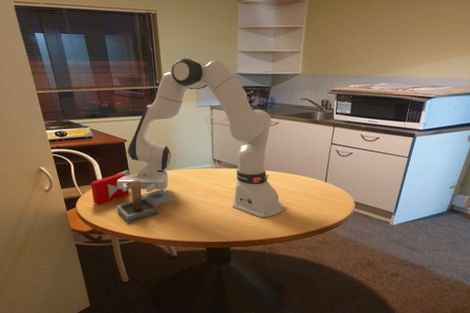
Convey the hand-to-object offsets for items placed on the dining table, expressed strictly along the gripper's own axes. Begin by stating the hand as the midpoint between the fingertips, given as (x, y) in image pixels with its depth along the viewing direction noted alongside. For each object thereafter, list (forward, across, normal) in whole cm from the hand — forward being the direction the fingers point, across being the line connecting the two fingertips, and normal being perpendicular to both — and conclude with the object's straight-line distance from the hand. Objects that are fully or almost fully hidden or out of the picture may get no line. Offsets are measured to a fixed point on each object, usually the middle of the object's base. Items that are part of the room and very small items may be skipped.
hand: (136, 189), depth 113 cm
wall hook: (-24, -17, +10) cm, 31 cm away
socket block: (-12, +4, +10) cm, 16 cm away
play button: (-12, -16, +10) cm, 22 cm away
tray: (0, 0, +10) cm, 10 cm away
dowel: (0, 0, +8) cm, 9 cm away
